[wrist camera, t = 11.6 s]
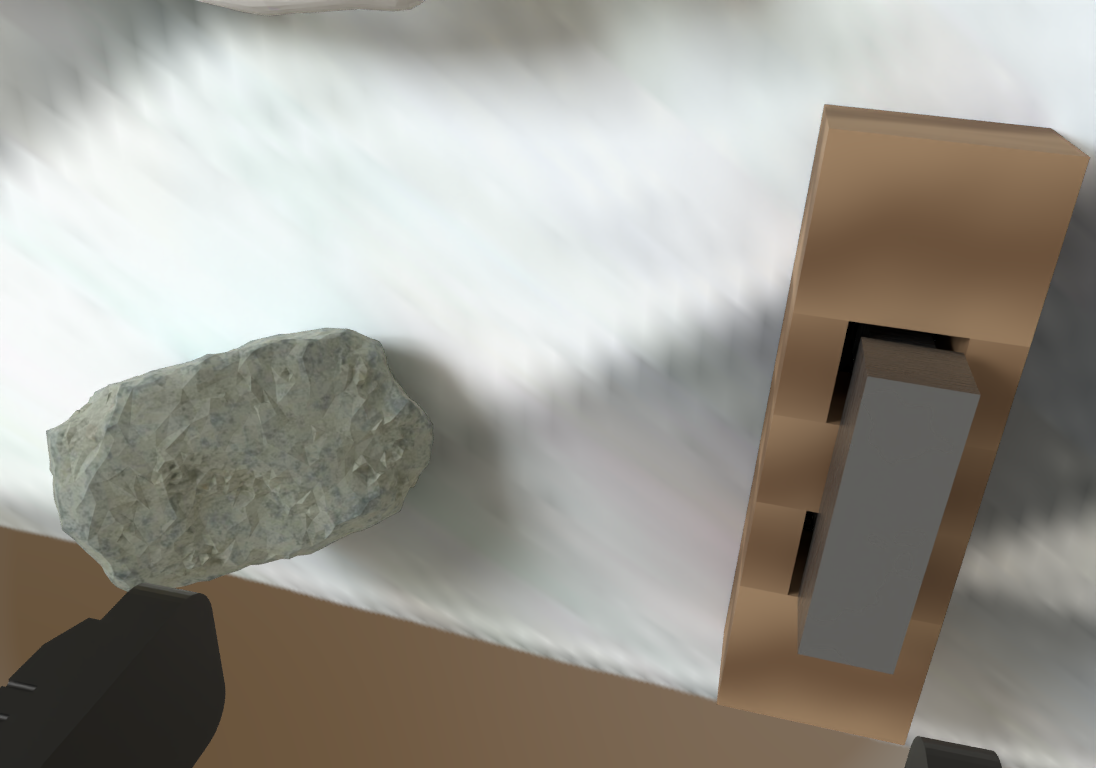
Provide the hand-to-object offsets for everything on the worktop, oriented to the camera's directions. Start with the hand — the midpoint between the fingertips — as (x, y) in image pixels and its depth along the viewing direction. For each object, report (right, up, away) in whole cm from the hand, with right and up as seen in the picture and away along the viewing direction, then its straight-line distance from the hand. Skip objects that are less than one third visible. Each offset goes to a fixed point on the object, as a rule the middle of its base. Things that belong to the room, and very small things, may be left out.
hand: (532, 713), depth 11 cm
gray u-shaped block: (+12, +2, +25) cm, 28 cm away
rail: (+12, +2, +25) cm, 28 cm away
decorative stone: (-11, +3, +31) cm, 33 cm away
